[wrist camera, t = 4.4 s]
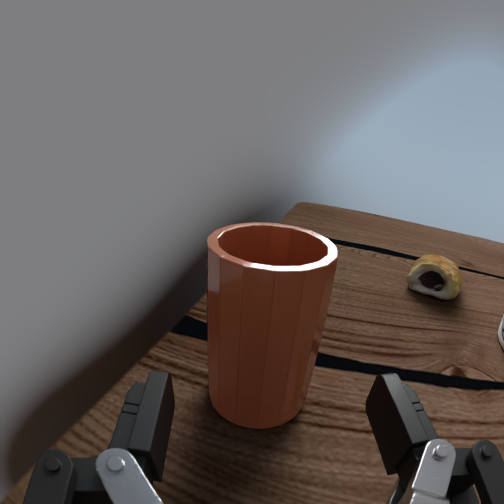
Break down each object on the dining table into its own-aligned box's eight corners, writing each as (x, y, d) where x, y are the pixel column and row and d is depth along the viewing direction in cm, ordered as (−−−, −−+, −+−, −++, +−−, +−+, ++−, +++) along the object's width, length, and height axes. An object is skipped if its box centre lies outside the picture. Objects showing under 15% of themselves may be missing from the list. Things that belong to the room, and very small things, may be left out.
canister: (239, 444, 15) (251, 283, 11) (193, 376, 19) (188, 230, 15) (323, 403, 18) (364, 255, 14) (269, 351, 22) (285, 217, 18)
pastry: (421, 265, 39) (428, 239, 38) (463, 281, 35) (472, 255, 33) (401, 287, 33) (410, 256, 31) (453, 309, 28) (465, 277, 27)
